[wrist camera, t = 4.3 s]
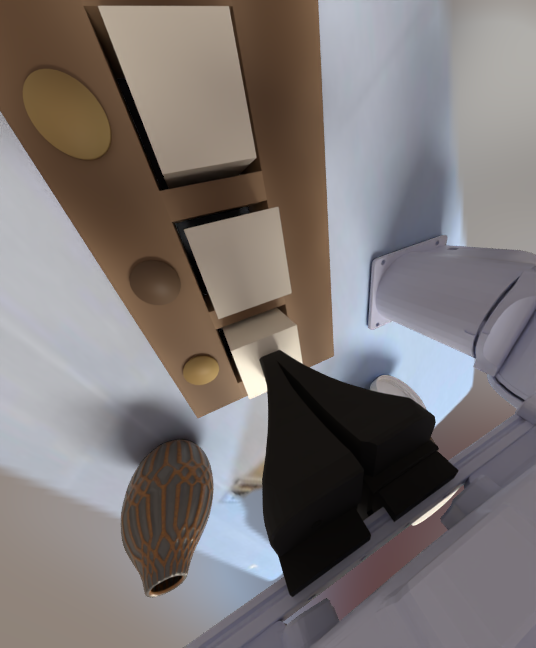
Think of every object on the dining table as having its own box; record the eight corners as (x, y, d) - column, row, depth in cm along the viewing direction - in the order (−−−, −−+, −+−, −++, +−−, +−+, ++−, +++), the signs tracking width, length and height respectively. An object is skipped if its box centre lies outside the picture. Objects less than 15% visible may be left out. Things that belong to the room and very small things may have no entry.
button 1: (213, 81, 10) (228, 6, 7) (236, 177, 12) (256, 157, 9) (130, 88, 9) (97, 5, 6) (169, 190, 11) (162, 174, 8)
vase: (114, 466, 18) (65, 633, 11) (172, 418, 18) (164, 550, 11) (174, 482, 22) (168, 612, 14) (222, 442, 22) (241, 551, 14)
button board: (276, 19, 10) (318, -76, 7) (311, 337, 20) (335, 357, 17) (-12, 23, 7) (-157, -127, 4) (195, 386, 17) (197, 420, 14)
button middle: (251, 212, 12) (278, 206, 8) (265, 277, 14) (291, 293, 10) (184, 228, 11) (183, 229, 7) (209, 295, 13) (218, 319, 9)
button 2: (271, 302, 15) (296, 324, 11) (280, 344, 17) (304, 374, 13) (219, 321, 14) (230, 351, 10) (235, 363, 16) (249, 399, 12)
